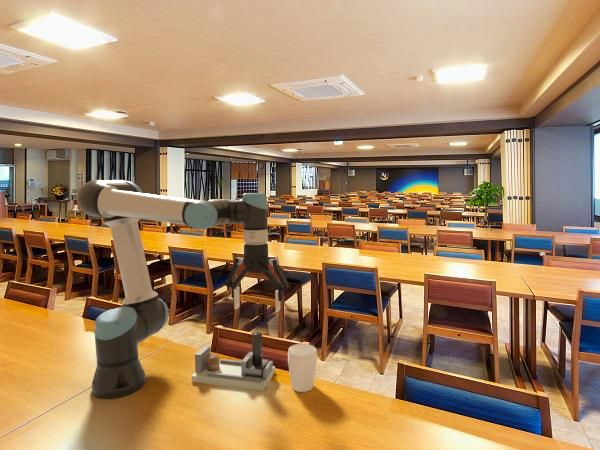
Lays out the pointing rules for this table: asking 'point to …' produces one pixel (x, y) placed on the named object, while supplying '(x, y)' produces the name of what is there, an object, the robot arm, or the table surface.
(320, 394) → the table surface
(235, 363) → the base
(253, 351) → the handle
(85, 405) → the table surface
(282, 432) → the table surface
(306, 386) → the cup
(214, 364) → the walnut
